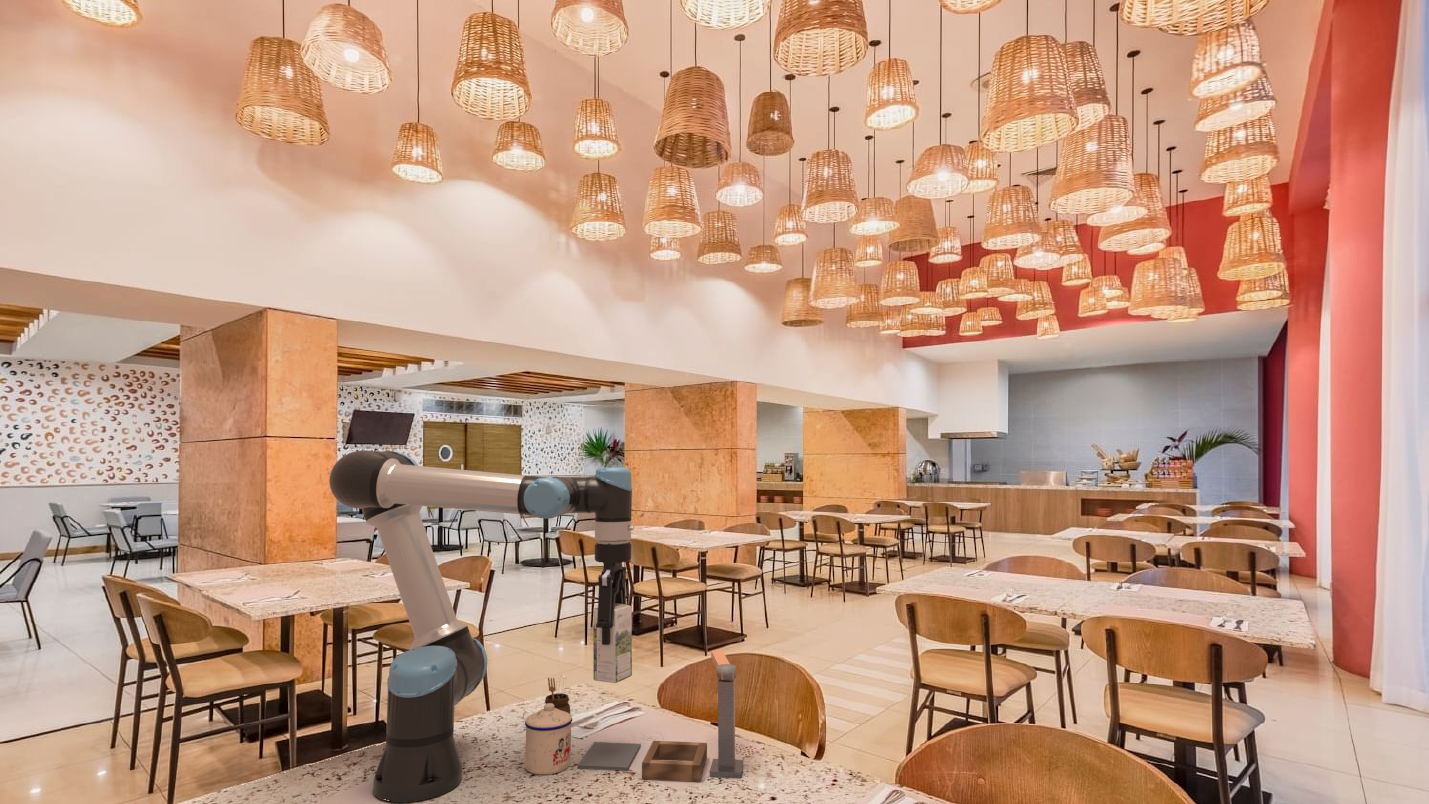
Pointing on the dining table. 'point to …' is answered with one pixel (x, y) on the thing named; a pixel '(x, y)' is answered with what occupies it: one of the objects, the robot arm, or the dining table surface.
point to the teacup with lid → (548, 740)
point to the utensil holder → (558, 697)
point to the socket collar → (675, 769)
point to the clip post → (726, 734)
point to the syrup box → (615, 647)
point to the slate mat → (609, 756)
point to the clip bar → (723, 666)
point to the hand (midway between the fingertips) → (611, 655)
